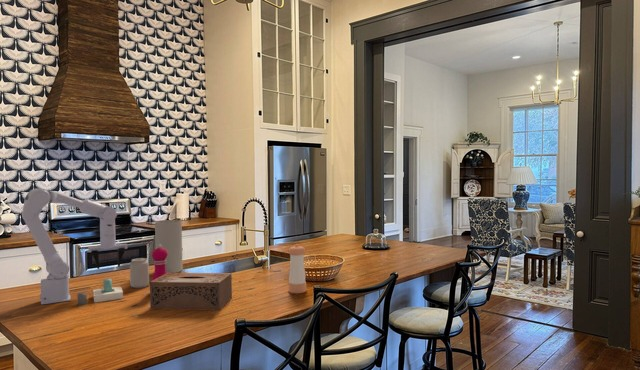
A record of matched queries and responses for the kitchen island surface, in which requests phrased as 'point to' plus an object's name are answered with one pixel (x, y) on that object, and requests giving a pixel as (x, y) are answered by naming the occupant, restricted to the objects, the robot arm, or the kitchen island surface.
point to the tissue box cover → (191, 291)
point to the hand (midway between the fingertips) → (108, 267)
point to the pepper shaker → (297, 270)
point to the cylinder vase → (170, 243)
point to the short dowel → (82, 298)
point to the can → (139, 273)
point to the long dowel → (107, 285)
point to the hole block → (107, 294)
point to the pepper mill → (159, 261)
